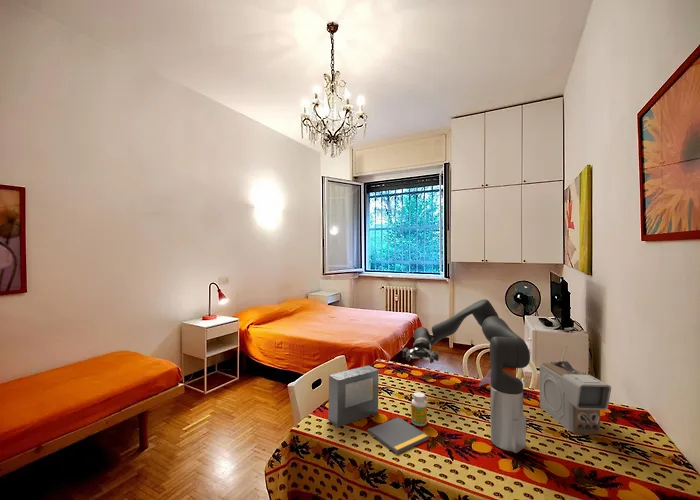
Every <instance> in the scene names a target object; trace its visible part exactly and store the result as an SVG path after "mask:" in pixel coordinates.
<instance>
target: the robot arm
mask: <svg viewBox="0 0 700 500" xmlns="http://www.w3.org/2000/svg"><path fill="white" fill-rule="evenodd" d="M470 315H473V317H474V319H475V320H476V322H477V323H478V325H479V327H481V330H482V333H483V335H484V337H485V339H486V340H487V341H488V342H489V361H490V370H491V385H490V441H491V443H492V444H493V445H494V446H496V447H497V448H500V449H502V450H504V451H508V452H512V453H515V454H518V453H519V452H520V451H522V450H523V449H525V448H527V416H526V415H525V414H524V384H523V381H522V380H521V379H520V378H519V377H516V376H514V375H511V374H509V373H508V372H506V371H504V369H503V368H509V369H510V368H511V369H523V368H526V367H527V366H528V365H529V364H530V362H531V354H530V353H531V351H530V350H529V347H528V345H527V343H526V342H525V340H524V339H523V338H522V337H520V336H519V335H517V334H516V333H515V332H514V331H513V330H512V329H511V328H510V327H509V325H508V324H507V323H506V321H505V320H504V319H502V318H501V317H500V316H499V314H498V312H497V311H496V309H495V308H494V306H493V305H492V303H491V302H490V300H488V299H485V298H484V299H481V300H477V301H476V302H474V303H472V304H470V305H468V306H467V307H465V308H463V309H462V310H461V311H459V312H457V313H456V314H454V315H452V316H451V317H449V318H447V319H446V320H442V321H441V322H439V323H436V324H434V325H433V326H432V327H431V332H432V335H431V334H430V332H429V330H428V329H427V328H426V327H424V326H421V327H417V329H415V331H414V332H413V338H414V343H413V346H412V348H411V349H409V348H408V347H404V349H403V350H402V358H406V359H405V360H406V361H408V362H410V360H411V359H419V360H427V361H429V363H430V364H432V363H434V362H435V361H436V362H438V361H439V358H440V357H439V350H437V349H436V350H434V351H431V349H432V347H433V346H434V345H435V344H436V343H438V342H439V341H441V340H442V339H445V338H448V337H449V336H452V335H453V334H455V333H456V332H457V331H458V330H459V328H460V326H461V325H462V324H463V322H464V321H465V319H466V318H467V317H469V316H470Z"/></svg>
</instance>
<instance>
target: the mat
mask: <svg viewBox="0 0 700 500" xmlns="http://www.w3.org/2000/svg"><path fill="white" fill-rule="evenodd" d="M367 433H368V434H370V436H371V437H373V438H375V439H376V440H378V442H380V443H381V444H382V445H384V446H385V447H386V448H387V449H389V450H390V451H392V453H394V454H396V455H398V454H401V453H402V452H405V451H407V450H409V449H411V448H413V447H415V446H418V445H420V444H422V443H424V442H426V441H428V440H430V436H429V435H428V434H427V433H425V432H423V430H421V429H419V428H417V427H415V426H414V425H412V424H410V423H409V422H407V421H406V420H404V419H402V418H401V417H396V418H394V419H391V420H388V421H386V422H383V423H380V424H378V425H375V426H373V427H370V428H368V429H367Z"/></svg>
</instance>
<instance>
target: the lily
mask: <svg viewBox="0 0 700 500" xmlns="http://www.w3.org/2000/svg"><path fill="white" fill-rule="evenodd" d="M485 375H486V376H485V377H484V378H481V379H480V380H479V381H480V383H479V384H478V387H482V386H483V385H485V384H488V385H489V386H491V369H489V370H488V372H487V373H486V374H485Z"/></svg>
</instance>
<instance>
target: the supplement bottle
mask: <svg viewBox="0 0 700 500" xmlns="http://www.w3.org/2000/svg"><path fill="white" fill-rule="evenodd" d="M412 394H413V396H412V397H413V398H412V400H411V407H410V408H411V410H410V411H411V412H410V413H411V416H410V417H411V418H410V421H411V423H412V424H413V425H415V426H418V427H424V426H426V425H427V423H428V402H427V401H426V394H425V393H423V392H420V391H415V392H414V393H412Z"/></svg>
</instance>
